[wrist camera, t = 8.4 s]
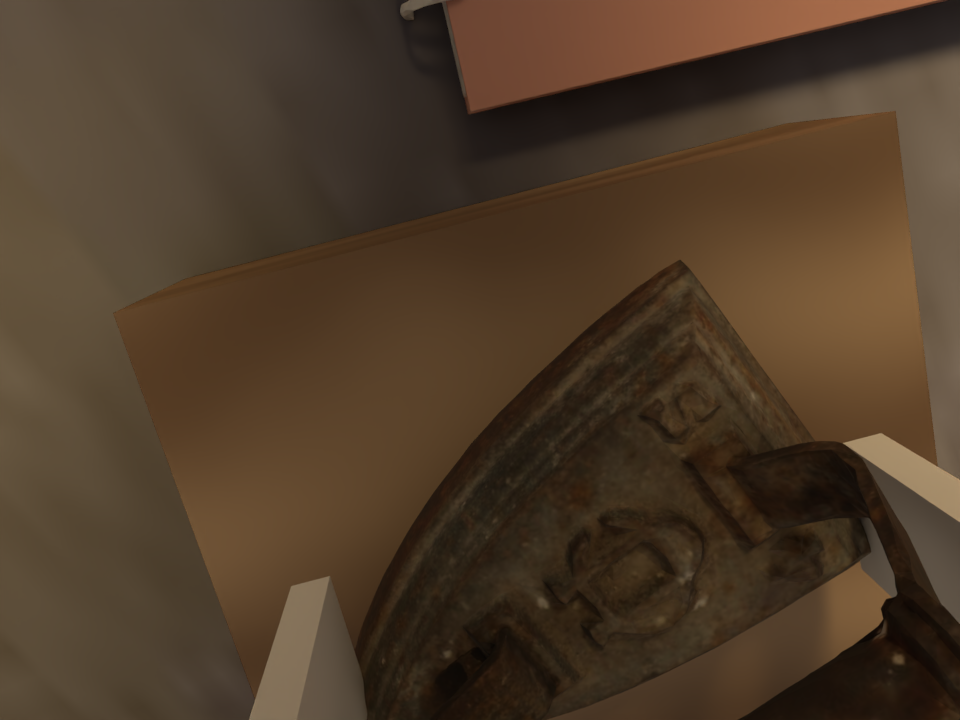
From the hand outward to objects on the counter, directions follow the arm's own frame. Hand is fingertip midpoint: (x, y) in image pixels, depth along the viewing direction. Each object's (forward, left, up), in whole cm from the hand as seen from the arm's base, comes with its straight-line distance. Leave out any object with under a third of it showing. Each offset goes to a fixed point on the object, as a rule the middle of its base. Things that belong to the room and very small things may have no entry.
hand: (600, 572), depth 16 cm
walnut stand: (0, 0, -7) cm, 7 cm away
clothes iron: (0, -1, -1) cm, 1 cm away
